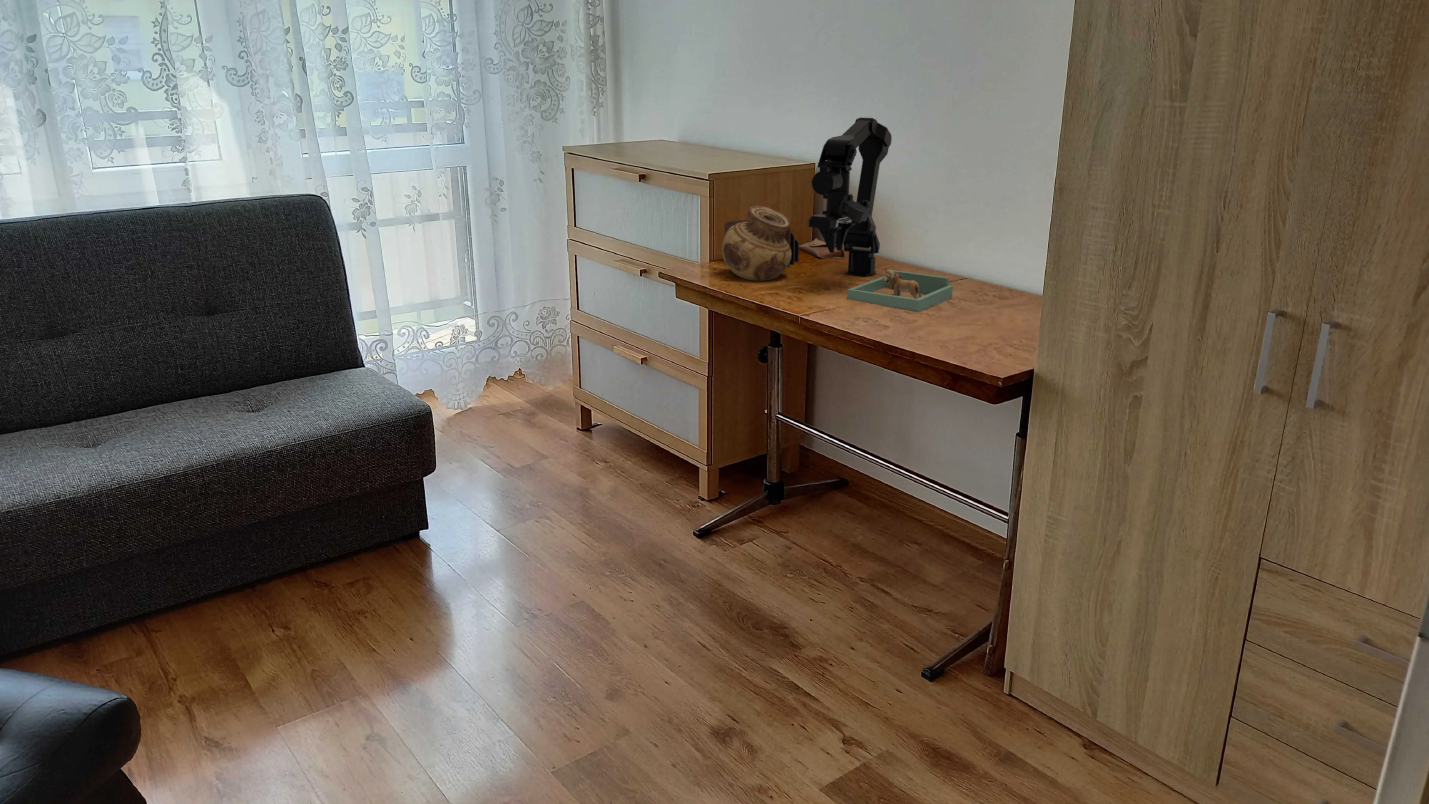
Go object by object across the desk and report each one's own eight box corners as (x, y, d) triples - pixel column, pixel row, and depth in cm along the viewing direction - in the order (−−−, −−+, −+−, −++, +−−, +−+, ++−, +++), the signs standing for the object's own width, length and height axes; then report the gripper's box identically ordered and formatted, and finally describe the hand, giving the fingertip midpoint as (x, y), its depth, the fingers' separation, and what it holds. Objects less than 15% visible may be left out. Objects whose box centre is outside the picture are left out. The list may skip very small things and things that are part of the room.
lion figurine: (878, 298, 255) (880, 270, 253) (887, 295, 258) (888, 267, 256) (922, 305, 248) (924, 276, 246) (929, 302, 251) (931, 273, 249)
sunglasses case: (791, 247, 313) (804, 229, 313) (807, 260, 316) (819, 242, 316) (819, 257, 297) (833, 239, 297) (835, 271, 301) (848, 253, 301)
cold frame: (846, 301, 252) (847, 281, 250) (883, 287, 267) (884, 268, 265) (918, 312, 241) (919, 292, 240) (951, 297, 256) (953, 278, 254)
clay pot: (769, 291, 263) (770, 214, 256) (708, 283, 272) (708, 208, 265) (802, 278, 278) (804, 204, 271) (744, 270, 287) (744, 199, 281)
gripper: (847, 197, 245) (844, 260, 250) (883, 188, 259) (880, 249, 264) (808, 193, 251) (806, 255, 256) (845, 185, 265) (842, 244, 270)
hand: (835, 251), depth 261 cm, fingers open, 3 cm apart
